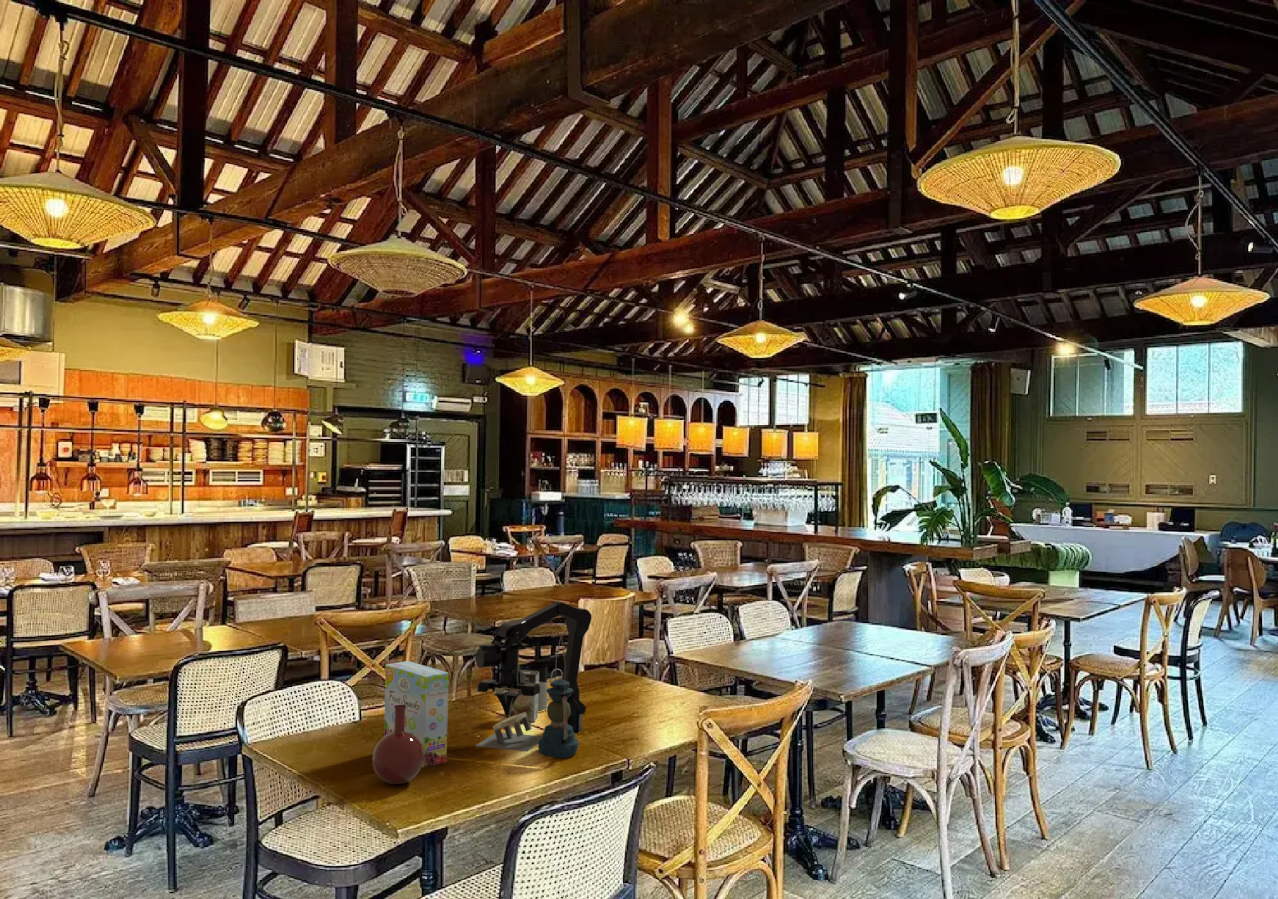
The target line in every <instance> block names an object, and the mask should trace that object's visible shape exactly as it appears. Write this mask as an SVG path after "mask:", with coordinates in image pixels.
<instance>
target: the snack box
mask: <svg viewBox="0 0 1278 899" xmlns="http://www.w3.org/2000/svg"><path fill="white" fill-rule="evenodd" d="M384 668H385V670H384V671H385V672H384V674H385V675H384V677H385V678H384V681H385V682H384V684H385V685H384V720H383V721H384V722H383V723H384V727H383V729H384V731H383V733H384V734H383V737H385V736H386V735H388V734H390V733H393V732H394V725H395V709H394V706H396V705H405V706H406V708H405V728H404V732H408V733H411V734H413V735H414V736H416V737H417V738H418V739H419V741H420V742H421V744H422V746H423V750H424V761H423V765H422V767H421V768H424V769H425V768H429V767H433V766H436V765H439V764H445V763H447V762H448V758H447V757H448V756H447V755H448V754H447V752H448V751H447V750H448V714H449V713H448V712H449V711H448V709H449V680H450V679H449V674H450V673H449V672H447V671H444V670H441V669H437V668H434V667H431V666H430V667H429V666H427V665H423V664H420V663H416V662H412V661H410V660H406V661H401V662H393V663H387V664H385V666H384Z"/></svg>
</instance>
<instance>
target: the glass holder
mask: <svg viewBox="0 0 1278 899" xmlns="http://www.w3.org/2000/svg"><path fill="white" fill-rule="evenodd" d="M525 670H528V671H539V686H540V693H538V711H542V710H545V709H547V708H548V704H549V702H548V701H549V700H550V699H551V697H550V696H548V693H547V691H546V690H547V689H548V683H549V682H550V683H551V682H552V679H553V674H554V672H555V668H554V669H553V670H552V671H551V673H550V679H549V680H548V665H545V664H529V665H527V666H526V668H525ZM557 670H558V671H560V673H561V674H560V675H561V678H560V679H562V677H563V671H562V669H560V668H556V671H557Z"/></svg>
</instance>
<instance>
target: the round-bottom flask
mask: <svg viewBox="0 0 1278 899" xmlns="http://www.w3.org/2000/svg"><path fill="white" fill-rule="evenodd" d="M405 708H406V706H405V705H396V706H394V709H395V725H394V732H393V733H390V734H388V735H386V736H385V737H384V736H383V737H382V738H381V739H380V740H379V741H378V742H377V744H376V746H375V748H374V750H373V754H372V767H373V770H374V772H375V774H376V775H377V777H378V778H380V779H381V781H383V782H385V783H388V784H391V785H402V784H406V783H408V782H410V781H412V779H414V778H416V776H417V775H418V774H419V773H420V771H421V769H422V768H423V767H422V765H423V761H424V750H423V746H422V744H421V742H420V741H419V739H418V738H417V737H416V736H414V735H413V734H411V733H408V732H404V728H405Z"/></svg>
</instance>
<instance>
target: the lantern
mask: <svg viewBox="0 0 1278 899" xmlns="http://www.w3.org/2000/svg"><path fill="white" fill-rule="evenodd" d="M560 644H561V645H562V653H563V660H564V661H563V663H565V656H566V655H565V649H564V642H563V635H562V634H560V637H559V642H558V646H557V650H556V657H555V663H557V659H558V656H559V655H558V653H559V649H560ZM554 669H555V671H554V672H555V673H554V680H553V681H550V683H549V685H550V687H549V688H548V687H547V690H546V691H547V696H548V697H551V698H550V699H551V701H550V702H548V704H547V707H548V708H547V711H546V714H547V717H548V719H549V720H550V721H551V722H550V724H547V725H546V726H544V731H543V732H542V739H540V740H539V742H538V744H537V746H538V751H539V753H540V754H541V755H543V756H545V757H552V758H554V759H565V758H570V757H573V756H575V755H576V754H577V751H578V748H579V740H578V739H577V738H576V737H575V734H576V733H574V732H573V727H572V726H570V725H568V723H567V719H568V718H569V716H570V705H569V703H568V702H567V700H568V697H570V696H571V693H572V692H573V689H571V688H567V687H568V686H569V682H567V681H565V680H562V679H561V678H560V679H556V678H557V670H556V669H557V665H555V667H554ZM565 677H566V665H565ZM575 753H576V754H575ZM574 754H575V755H574Z"/></svg>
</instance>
